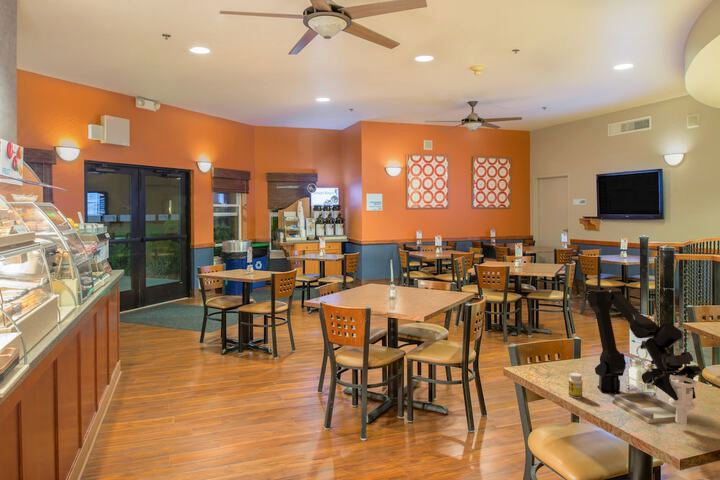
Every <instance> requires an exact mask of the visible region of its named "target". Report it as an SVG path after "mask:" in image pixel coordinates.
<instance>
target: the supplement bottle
mask: <svg viewBox="0 0 720 480" xmlns="http://www.w3.org/2000/svg"><path fill="white" fill-rule="evenodd" d="M582 377H583V376H582V374H580V373H577V372H571V373H570V374H569V378H568V396H569V397H570V396H571V398H573V397H574V398H573V399H580V398H583V379H582Z"/></svg>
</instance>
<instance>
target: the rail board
mask: <svg viewBox="0 0 720 480" xmlns="http://www.w3.org/2000/svg"><path fill="white" fill-rule="evenodd" d="M611 401H612V402H611V403H612V404H613V405H615V406H616V407H618V408H620V409H623V411H625V412H627V413H629V414H631V415H632V416H634V417H635V418H637V419H640V420H642V421H644V422H645V423H647V424H653V423H654V424H655V423H662V422H671V421H674V422H675V419H676V408H675V407H673V406H671V405H670V404H669V403H667V402H665V401H663V400H661V399H659V398H657V397H654V396H653V395H651V394H648V393H646V392H645V391H644V392H643V391H642V392H632V393H620V394H614V397H613V399H612V400H611Z"/></svg>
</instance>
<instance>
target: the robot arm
mask: <svg viewBox="0 0 720 480" xmlns="http://www.w3.org/2000/svg"><path fill="white" fill-rule="evenodd" d="M587 302H588V303H589V307H590V308H591V310H592V311H593V312H594V313H595V317H596V322H597V327H598V328H597V329H598V332H599V338H600V343H601V349H602V351H601V354H600V356H599V364H597V365H596V366H595V368H594V371H595V374H596V375H598V376H599V377H598V385H597V388H598V390H599V391H600V392H601V393H602V394H604V393H605V394H616V395H620V394H621V392H620V390H621V380H620V377H623V375H624V373H625V370H626V367H627V366H626V365H627V363H626V360H625V354H624V353H621V352H620V351H619V350H618V348H617V345H616V344H617V343H616V338H615V333H614V328H613V323H612V319H611V318H612V317H611V314H610V311H611V309H612V307H613V306H614V307H615V309H616V310H617V311H618V312H619V313H620V314H621V315H622V316H623V318H625V320H626V321H627V322H628V324H629V330H630V331H631V332H632V334H633V335H634V336H635V337H636V338H637V339H646V340H642V341H641V344H640V347H639V348H640V349H641V350H646V351H647V353H648V354H649V356H650V358H651V361H650V364H651V365H655V368H649V369H647V370H646V371H645V372H644V373H642V374H641V381H642V382H643V384H644V385H645V384H647V385H648V384H651V386H655V387H656V388H658V389H659V390H661V391H662V392H663V393H665V394H666V395H668V396H669V397H670V398H673V399H674V400H675V401H677V400H678V397H677V395H676V393H675V391H674V389H673V387H672V385H671V384H670V375H676V376H677V375H678V376H680V377H686V378H690V379H693V380H694V379H695V378H696V377H697V376H699V375H700V374H702V373H703V370H702V369H701V367H700V366H699V365H697V364H693V365H692V364H691V362H693V361H694V358H693V355H692V354H691V352H690V351H684V352H681V353H680V354H677V355H676V354H675V353H673V352H670V351H669V350H668V349H670V348H671V347H673V346H674V345H675V344H676V343H678V342H679V341H681V339H682V338H683V333H682V331H681V329H679V328H678V327H676V326H675V325H672V324H671V322H669V321H668V322H667V321H666V322H662V324H660V326H659V325H658V324H657V323H656V322H655V321H654V320H653V319H651V318H650V317H648V316H646V315H643V314H642V313H641V312H640V311H638V309H637V308H636V307H635V306H634V305H633V304H632V303H631V302H630V301H629V300H628V299H627V298H626V297H625V296H624V295H623V292H622V291H621V290H620V289H619V290H618V289H615V290H613V289H611V290H607V289H602V290H601V289H600V290H590V291H589V293H588V294H587ZM684 365H686V366H684ZM683 366H684V367H683ZM684 383H685V384H692V383H690V382H687V381H684ZM691 389H693V400H694V399H696V398H697V396H696V392H695V391H696V390H695V387H693V388H691Z"/></svg>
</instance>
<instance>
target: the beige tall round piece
mask: <svg viewBox="0 0 720 480" xmlns="http://www.w3.org/2000/svg"><path fill="white" fill-rule="evenodd" d="M676 380H677V381H676ZM684 381H687V382H690V383H692V384H685V383H684ZM670 384H671V385H672V387H673V389H674V391H675V393H676V395H677V397H678V400H677V401H675V400H674V399H673V398H671V397H670V398H668V404H669V405H671V406H673V407H675V408H676V419H675V420H674V422H675V423H678V424H681V425H686V424H687V422H688V411H691V410H692V411H693V410H695V408H696V403H695V402H694V401H693V400H694V399H693V389H691V388H693V387H694V388H695V387H697V381H696V380H694V379H690V378H686V377H680V376H678V375H677V376H676V375H670Z"/></svg>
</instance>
